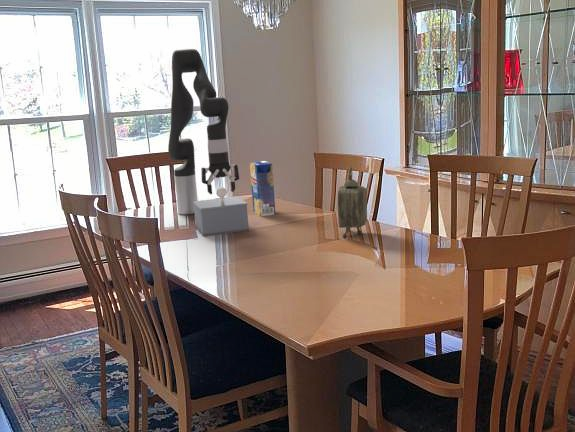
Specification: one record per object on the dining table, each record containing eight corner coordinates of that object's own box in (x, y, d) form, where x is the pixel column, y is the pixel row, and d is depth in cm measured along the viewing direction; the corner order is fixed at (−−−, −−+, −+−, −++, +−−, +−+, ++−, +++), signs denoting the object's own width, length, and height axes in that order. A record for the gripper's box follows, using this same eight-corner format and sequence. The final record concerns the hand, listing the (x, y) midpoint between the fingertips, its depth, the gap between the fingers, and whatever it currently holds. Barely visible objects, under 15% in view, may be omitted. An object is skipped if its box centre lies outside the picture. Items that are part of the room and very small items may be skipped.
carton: (196, 227, 264) (193, 203, 262) (239, 222, 269) (237, 198, 267) (203, 236, 249) (201, 210, 247) (248, 230, 254) (246, 205, 252)
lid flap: (193, 203, 261) (191, 184, 260) (237, 198, 267) (236, 179, 265) (200, 210, 247) (198, 190, 245) (247, 205, 252) (245, 185, 250)
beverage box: (268, 209, 289) (264, 160, 284) (275, 214, 279) (272, 163, 274) (253, 211, 287) (249, 162, 282) (260, 216, 277) (256, 165, 272)
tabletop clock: (343, 229, 246) (341, 164, 241) (367, 229, 244) (365, 163, 239) (339, 239, 232) (336, 170, 227) (364, 239, 230) (362, 170, 225)
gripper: (234, 148, 252) (237, 189, 256) (197, 151, 248) (201, 193, 252) (238, 150, 245) (241, 192, 249) (201, 153, 241) (205, 196, 245)
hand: (221, 192), depth 250 cm, fingers open, 8 cm apart
